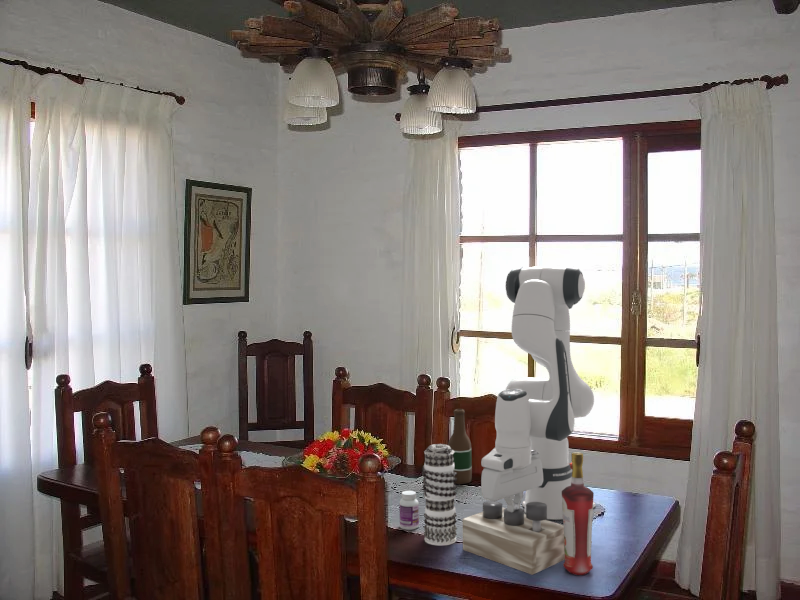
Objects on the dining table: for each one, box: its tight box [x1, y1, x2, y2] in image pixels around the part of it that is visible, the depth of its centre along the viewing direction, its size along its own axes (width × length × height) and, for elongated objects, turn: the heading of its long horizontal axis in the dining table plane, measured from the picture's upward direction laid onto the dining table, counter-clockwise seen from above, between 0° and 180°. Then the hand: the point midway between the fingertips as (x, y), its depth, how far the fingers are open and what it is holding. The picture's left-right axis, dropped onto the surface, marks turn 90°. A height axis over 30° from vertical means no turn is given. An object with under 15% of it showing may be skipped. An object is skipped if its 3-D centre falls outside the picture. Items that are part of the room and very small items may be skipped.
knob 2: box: [504, 507, 525, 526], centre depth 192 cm, size 5×5×8 cm
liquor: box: [562, 451, 595, 576], centre depth 181 cm, size 7×7×28 cm
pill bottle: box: [398, 490, 420, 531], centre depth 213 cm, size 5×5×10 cm
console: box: [461, 506, 565, 576], centre depth 192 cm, size 14×22×8 cm, turn 42°
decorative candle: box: [421, 443, 458, 547], centre depth 203 cm, size 9×9×25 cm
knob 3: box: [525, 502, 548, 532], centre depth 187 cm, size 5×5×8 cm
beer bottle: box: [447, 408, 473, 485], centre depth 256 cm, size 8×8×24 cm
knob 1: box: [482, 500, 503, 519], centre depth 197 cm, size 5×5×8 cm
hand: (513, 510), depth 192 cm, fingers closed, pressing on knob 2
